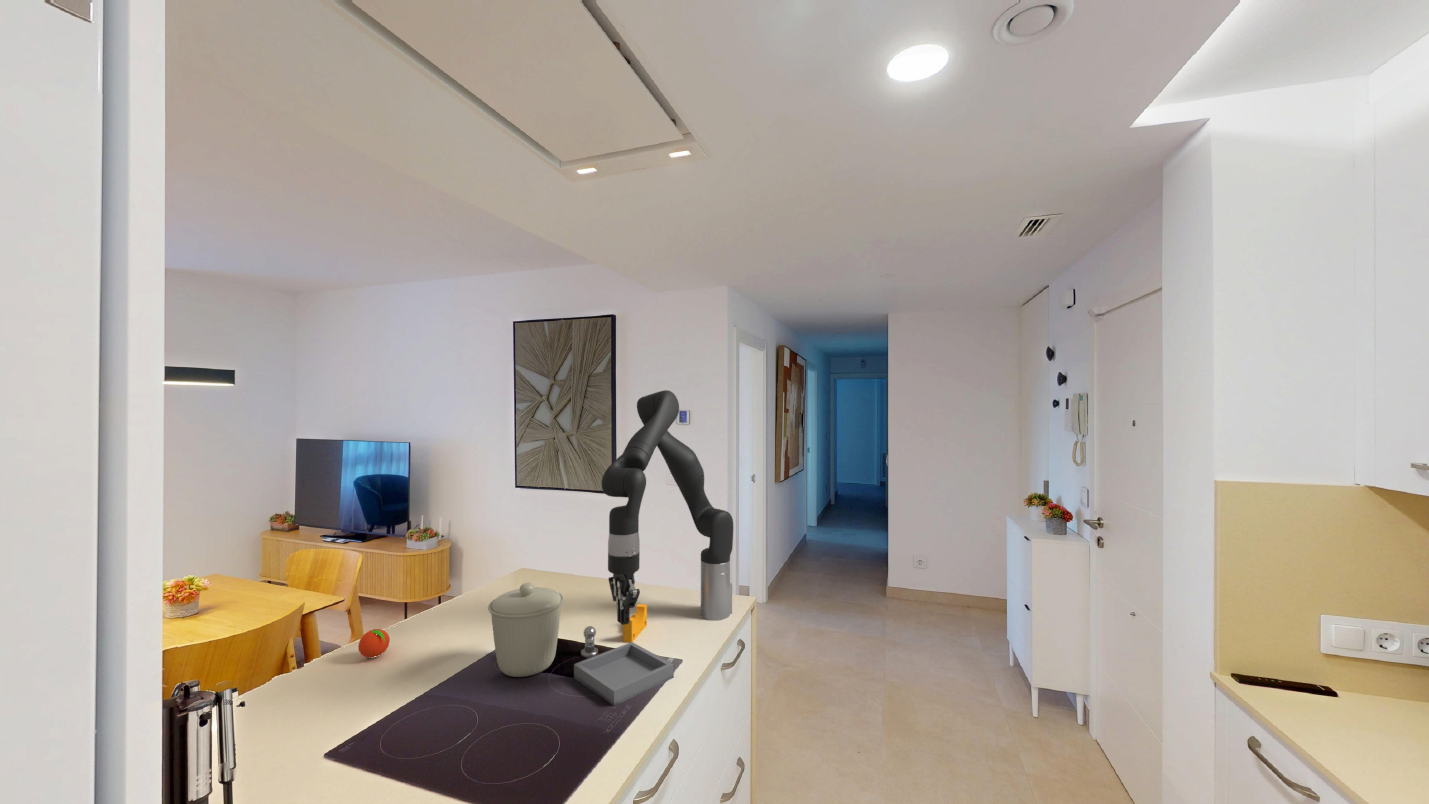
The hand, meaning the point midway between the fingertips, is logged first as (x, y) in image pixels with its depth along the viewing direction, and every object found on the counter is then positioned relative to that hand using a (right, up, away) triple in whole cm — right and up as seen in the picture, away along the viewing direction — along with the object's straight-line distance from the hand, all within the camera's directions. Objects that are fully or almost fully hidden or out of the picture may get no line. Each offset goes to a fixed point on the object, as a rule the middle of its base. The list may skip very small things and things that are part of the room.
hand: (623, 622), depth 128 cm
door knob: (-11, -14, +13) cm, 22 cm away
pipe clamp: (-2, -14, +25) cm, 29 cm away
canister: (-25, -14, +6) cm, 29 cm away
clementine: (-67, -14, +11) cm, 69 cm away
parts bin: (0, -14, 0) cm, 14 cm away
